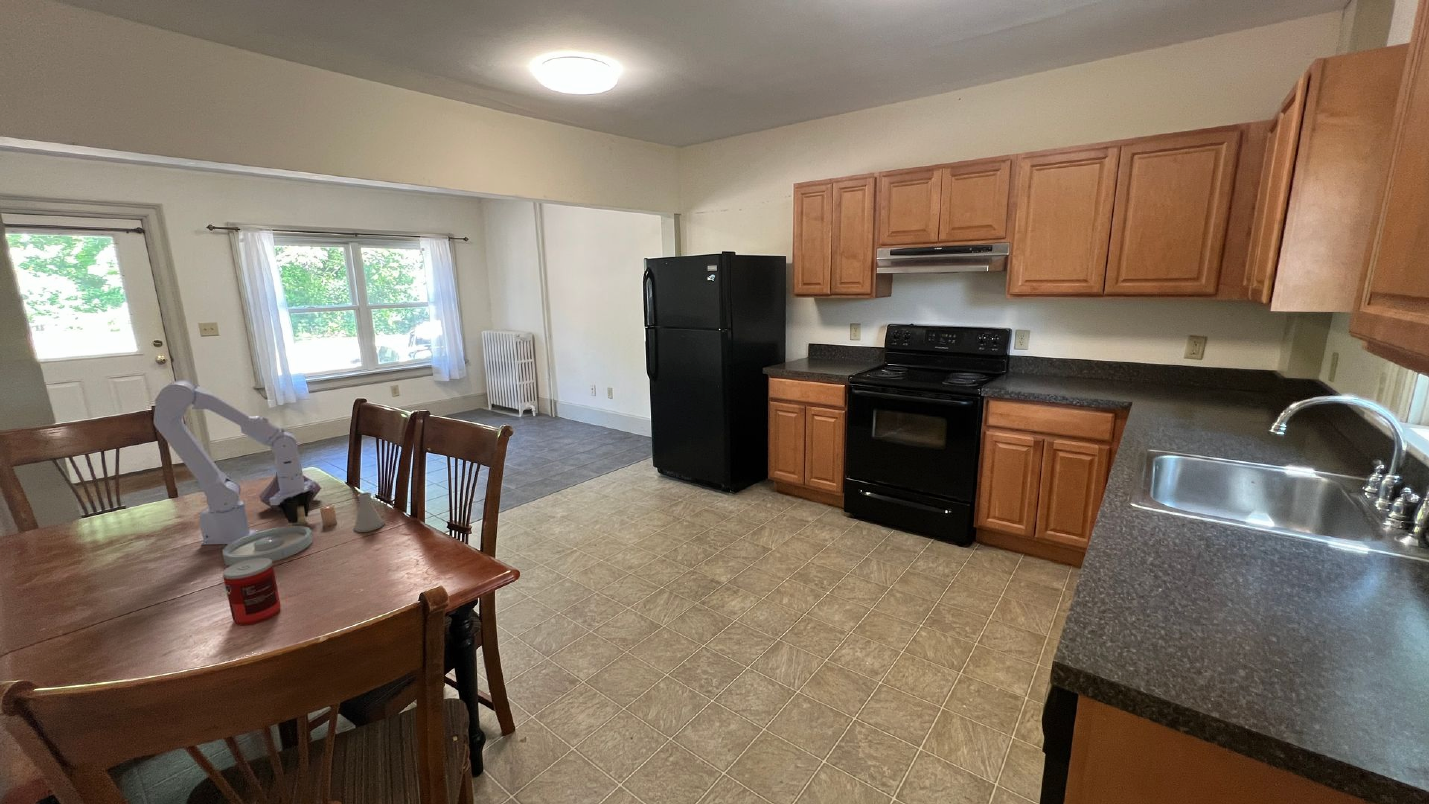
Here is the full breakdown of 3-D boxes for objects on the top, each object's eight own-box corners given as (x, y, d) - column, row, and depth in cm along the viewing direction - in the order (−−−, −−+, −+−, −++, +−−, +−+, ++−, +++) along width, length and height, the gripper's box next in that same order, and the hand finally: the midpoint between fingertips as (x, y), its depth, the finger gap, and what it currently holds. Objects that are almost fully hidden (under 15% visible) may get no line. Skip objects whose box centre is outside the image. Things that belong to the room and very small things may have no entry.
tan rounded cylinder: (289, 526, 159) (285, 510, 158) (298, 521, 162) (295, 505, 161) (300, 526, 159) (297, 510, 158) (309, 521, 162) (306, 505, 161)
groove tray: (204, 566, 136) (202, 557, 136) (264, 534, 154) (262, 526, 153) (276, 566, 136) (274, 556, 135) (328, 534, 154) (326, 525, 153)
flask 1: (336, 499, 180) (325, 439, 176) (279, 518, 165) (266, 454, 161) (305, 492, 186) (294, 435, 182) (248, 510, 172) (235, 448, 168)
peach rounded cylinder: (320, 526, 159) (317, 509, 158) (328, 521, 162) (325, 505, 161) (331, 526, 159) (328, 509, 158) (339, 521, 162) (337, 505, 161)
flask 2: (370, 534, 153) (365, 499, 151) (348, 532, 154) (342, 498, 152) (390, 523, 160) (385, 490, 158) (368, 521, 161) (363, 488, 159)
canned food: (250, 606, 118) (240, 558, 116) (290, 603, 119) (281, 556, 117) (222, 627, 111) (211, 577, 109) (265, 624, 112) (254, 574, 109)
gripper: (284, 483, 150) (292, 530, 153) (322, 466, 165) (329, 509, 167) (258, 483, 151) (267, 530, 153) (298, 466, 165) (306, 509, 168)
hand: (298, 519), depth 160 cm, fingers open, 3 cm apart
